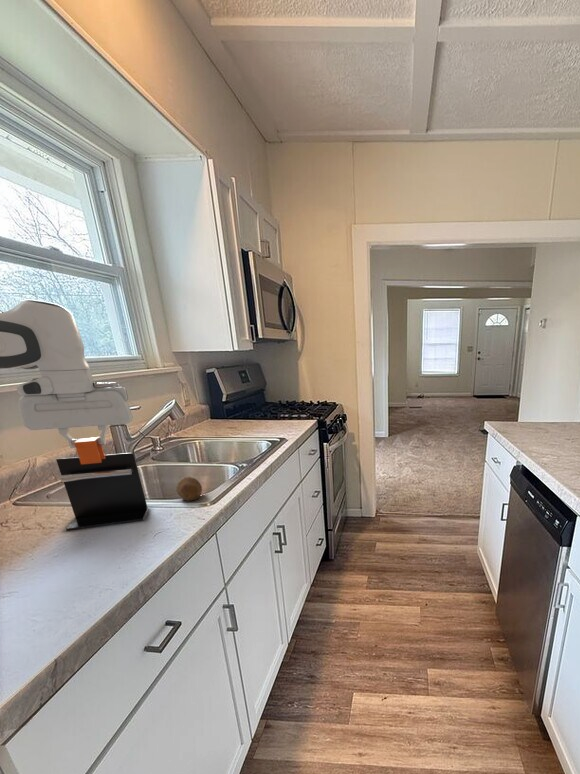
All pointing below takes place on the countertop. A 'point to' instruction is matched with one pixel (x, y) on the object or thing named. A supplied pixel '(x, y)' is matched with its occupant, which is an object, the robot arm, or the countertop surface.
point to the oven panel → (103, 491)
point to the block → (89, 450)
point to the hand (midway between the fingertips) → (88, 445)
